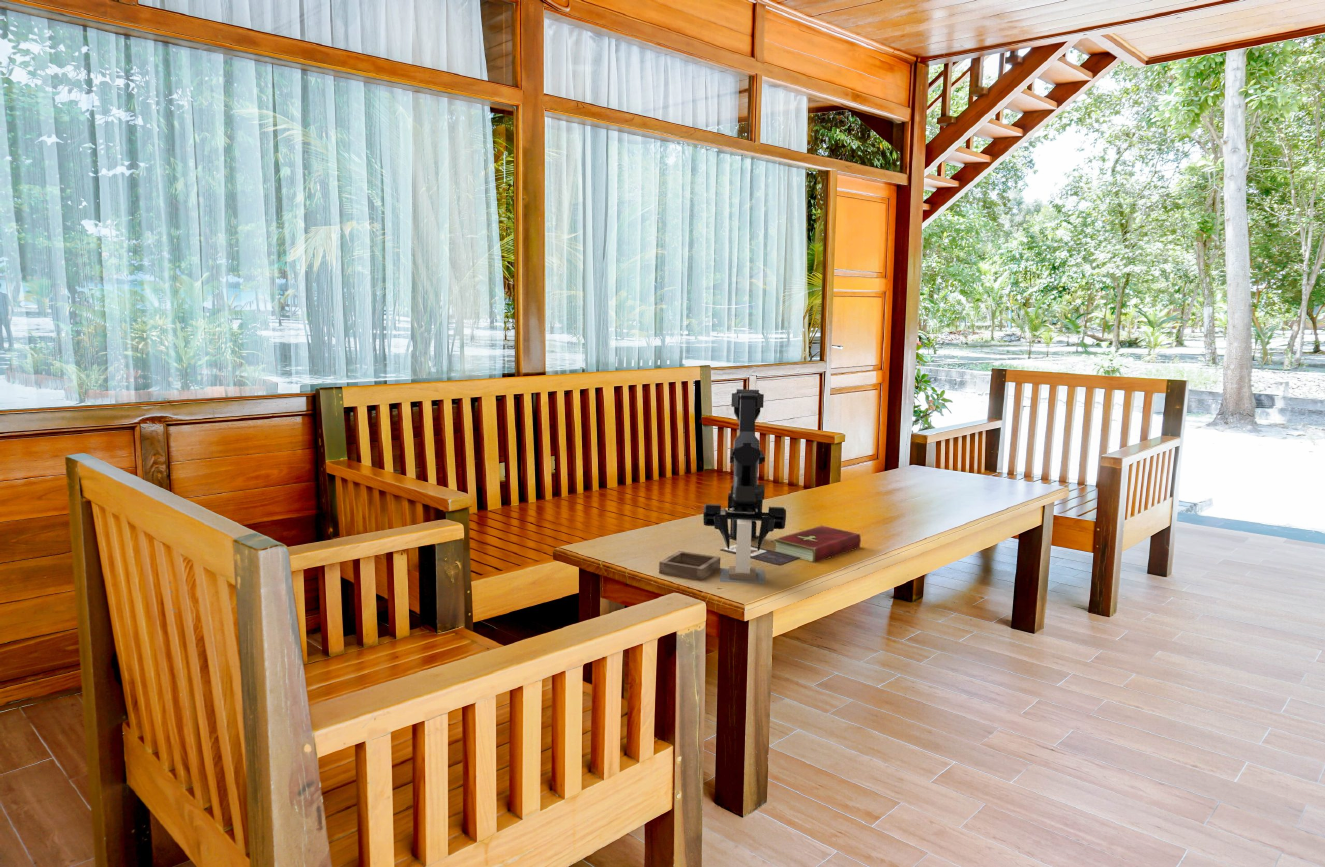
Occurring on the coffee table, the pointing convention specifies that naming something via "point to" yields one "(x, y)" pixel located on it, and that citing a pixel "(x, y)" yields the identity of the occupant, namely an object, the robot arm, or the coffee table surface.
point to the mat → (759, 579)
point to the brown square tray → (677, 569)
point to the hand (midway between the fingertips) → (743, 548)
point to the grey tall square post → (743, 553)
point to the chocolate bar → (765, 555)
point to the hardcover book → (818, 543)
